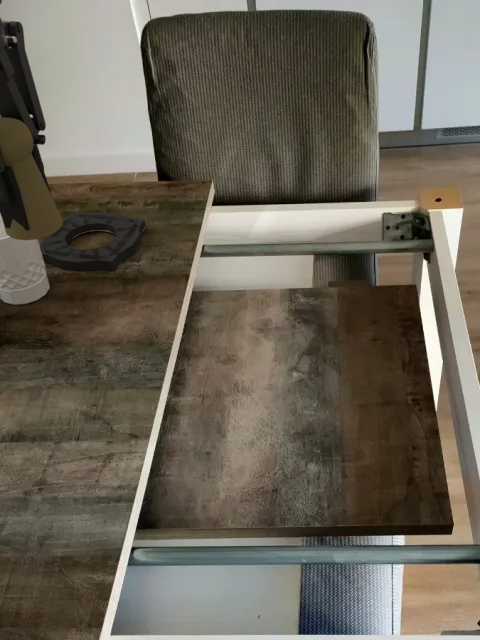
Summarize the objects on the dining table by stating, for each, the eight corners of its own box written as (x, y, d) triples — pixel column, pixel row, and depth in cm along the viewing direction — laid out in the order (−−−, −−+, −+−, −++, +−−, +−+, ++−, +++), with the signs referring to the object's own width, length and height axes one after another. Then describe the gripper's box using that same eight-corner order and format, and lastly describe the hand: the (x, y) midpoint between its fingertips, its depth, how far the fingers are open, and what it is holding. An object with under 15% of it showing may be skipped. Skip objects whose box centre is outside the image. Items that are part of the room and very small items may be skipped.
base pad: (26, 265, 94) (23, 255, 93) (71, 217, 104) (69, 208, 103) (118, 275, 92) (115, 266, 91) (155, 225, 102) (153, 216, 101)
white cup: (21, 314, 86) (-7, 246, 79) (-18, 296, 89) (-49, 229, 82) (66, 285, 90) (44, 218, 83) (27, 269, 93) (2, 203, 86)
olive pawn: (-4, 223, 72) (-44, 120, 64) (49, 206, 74) (17, 105, 66) (17, 246, 68) (-22, 140, 61) (72, 227, 71) (40, 124, 63)
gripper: (-87, -19, 47) (20, 262, 64) (34, -65, 59) (98, 184, 76) (-176, -24, 49) (-48, 254, 65) (-40, -69, 60) (39, 177, 77)
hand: (30, 216), depth 71 cm, fingers closed on olive pawn, 4 cm apart
